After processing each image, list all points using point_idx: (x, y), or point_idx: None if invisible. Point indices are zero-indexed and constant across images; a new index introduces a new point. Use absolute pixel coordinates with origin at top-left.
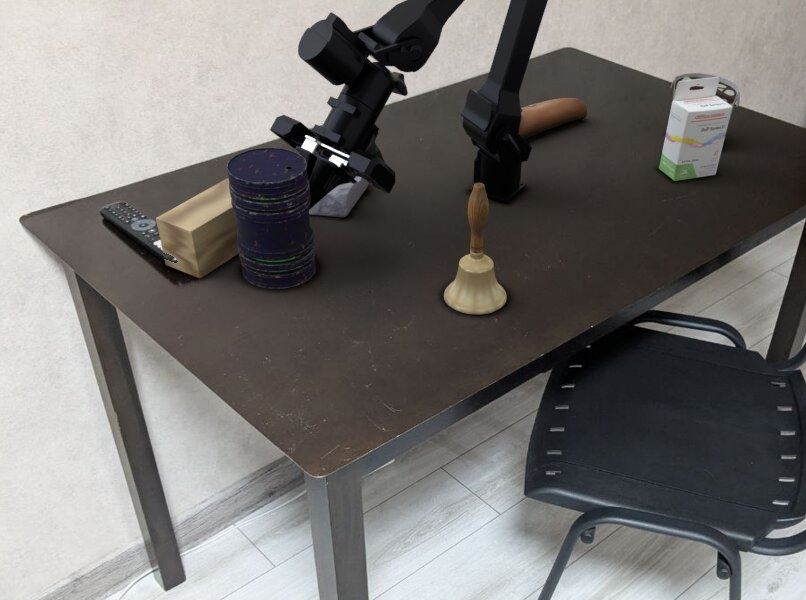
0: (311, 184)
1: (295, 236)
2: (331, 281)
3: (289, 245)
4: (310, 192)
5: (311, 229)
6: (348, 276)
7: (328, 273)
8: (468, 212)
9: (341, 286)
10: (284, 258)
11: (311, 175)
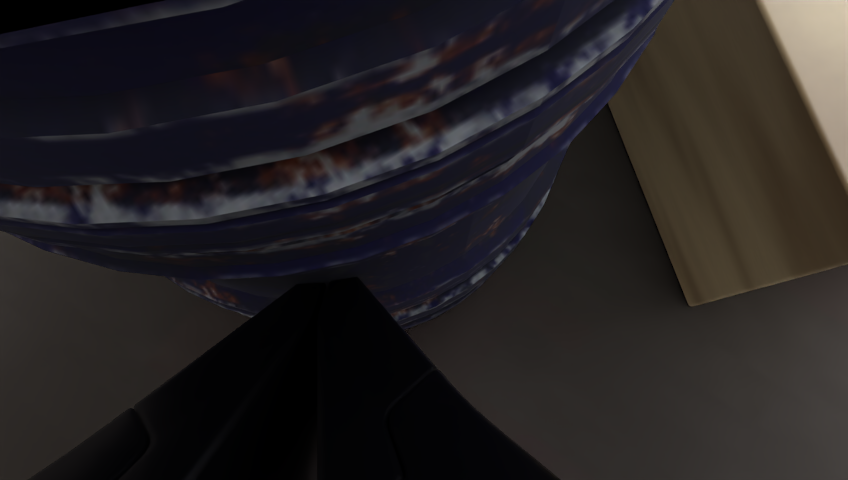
0: (177, 408)
1: (25, 20)
2: (96, 291)
3: (73, 3)
4: (196, 363)
5: (187, 279)
6: (68, 389)
7: (163, 324)
8: None
9: (26, 302)
10: (118, 6)
11: (180, 474)
